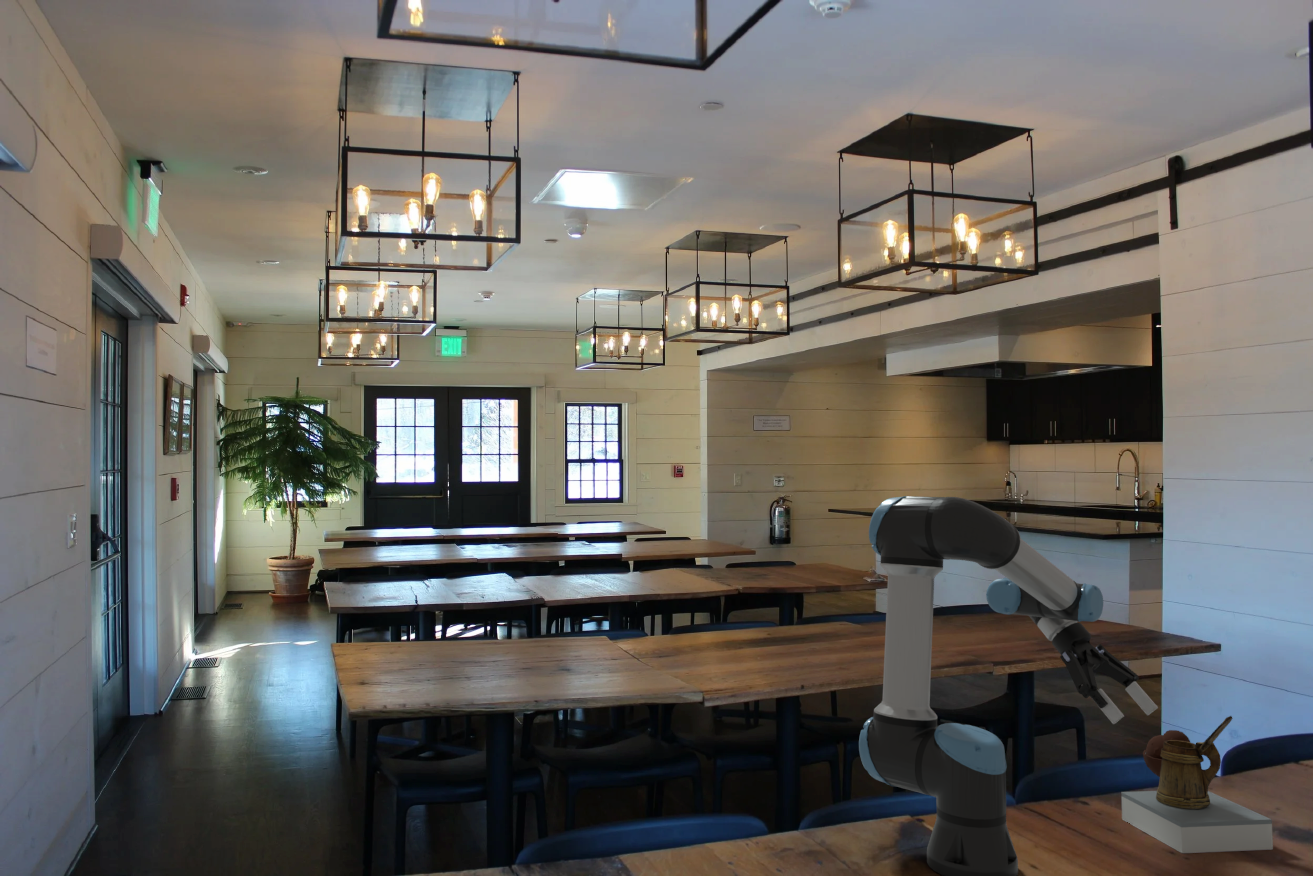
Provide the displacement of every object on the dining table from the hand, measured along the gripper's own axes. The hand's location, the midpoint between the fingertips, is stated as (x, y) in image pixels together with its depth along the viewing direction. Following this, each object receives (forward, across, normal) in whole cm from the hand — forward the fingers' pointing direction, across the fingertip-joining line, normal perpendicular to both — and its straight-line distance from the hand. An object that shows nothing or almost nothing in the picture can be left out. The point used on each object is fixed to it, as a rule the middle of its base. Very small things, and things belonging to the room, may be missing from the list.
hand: (1136, 716), depth 190 cm
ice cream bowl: (+13, +18, +16) cm, 27 cm away
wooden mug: (+18, +1, +3) cm, 19 cm away
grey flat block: (+22, +1, +7) cm, 23 cm away
